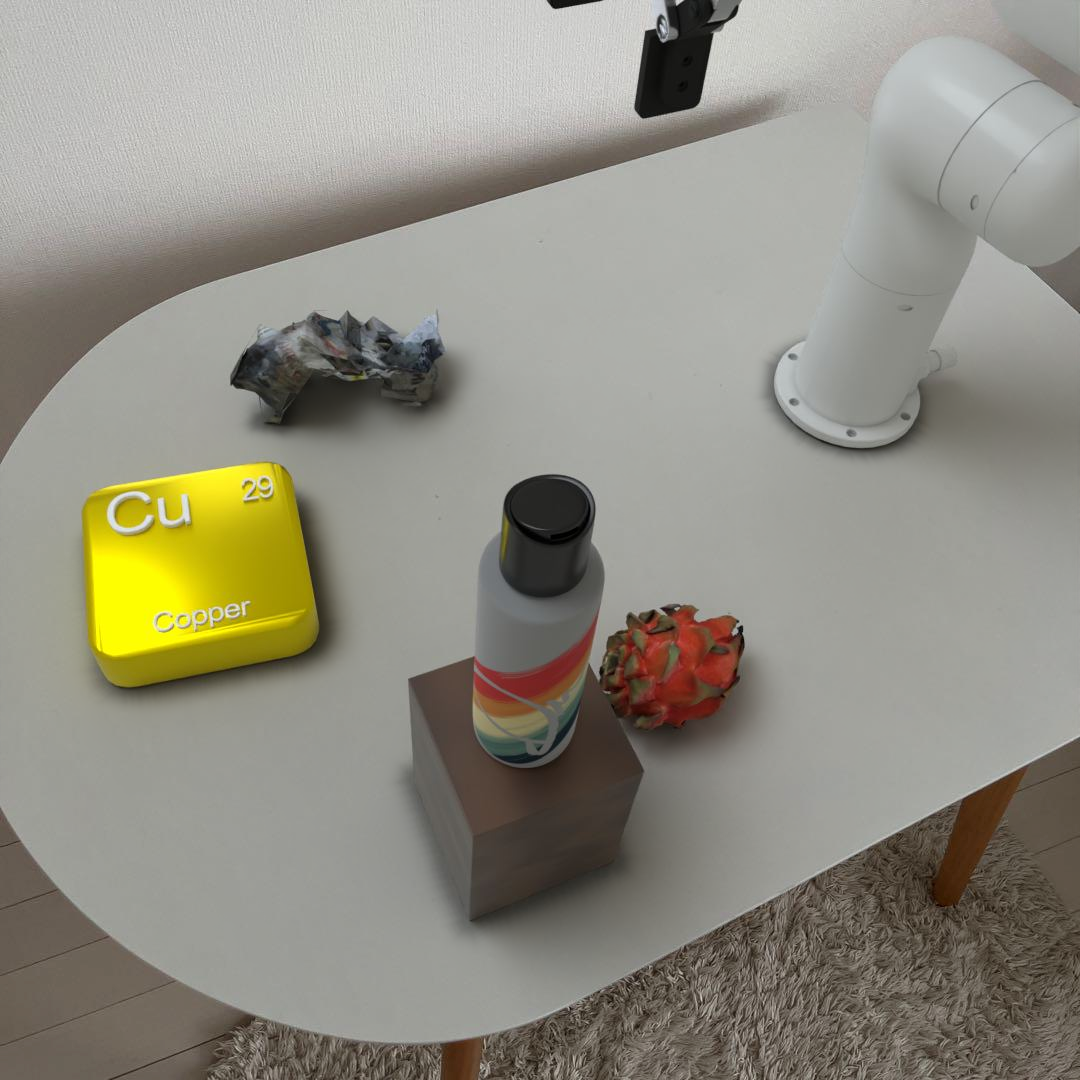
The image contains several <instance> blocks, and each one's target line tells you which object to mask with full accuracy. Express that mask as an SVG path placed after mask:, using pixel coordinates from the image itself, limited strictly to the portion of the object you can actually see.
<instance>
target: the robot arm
mask: <svg viewBox="0 0 1080 1080" xmlns="http://www.w3.org/2000/svg"><path fill="white" fill-rule="evenodd" d="M602 1H604V0H546V3H548V5H549V6H550V7H551V9H554V10H560V9H565V8H569V7H571V8H572V7H577V6H583V5H588V4H593V3H599V2H602ZM742 1H743V0H682V1H681V2H679V3H678V4H677V1H676V0H650V5H651V11H652V16H653V17H652V18H653V23H654V27H655V28H652V29H646V30H644V35H643V42H642V49H641V56H640V64H639V70H638V78H637V84H636V91H635V98H634V105H633V109H634V111H635V113H636V114H637V115H638V116H639V117H640V119H643V120H645V119H650V118H655V117H660V116H664V115H670V114H673V113H678V112H683V111H688V110H692V109H695V108H696V107H698V105H699V104H700V102H701V100H702V96H703V91H704V86H705V80H706V75H707V71H708V70H707V69H708V65H709V60H710V54H711V49H712V44H713V40H714V35H715V33H720V32H722V31H723V30H724V27H725V24H726V23H728V22H730V21H731V20H733V19H734V18H735V17H736V16H737V14H738V12H739V7H740V4H741V3H742ZM989 2H990V4H991V7H992V9H993V11H994V13H995V14H996V15H997V17H998V18H999V19H1000V20H1001V21H1002V22H1003V23H1004V24H1005V25H1006V26H1007V27H1008V28H1009V29H1010V30H1012V31H1013V32H1014V33H1015V34H1017V35H1019V37H1021V38H1022V39H1023V40H1025V41H1026V42H1028V43H1029V44H1031V45H1032V46H1034V47H1035V48H1037V50H1039V51H1041V52H1042V53H1044V54H1045V55H1047V56H1049V58H1052V59H1053V60H1054V61H1056V62H1057V63H1059V64H1061V65H1062V66H1064V67H1066V68H1067V69H1068V70H1070V71H1072V72H1073V73H1075V74H1076V75H1078V77H1079V76H1080V0H989ZM864 149H865V151H864V159H863V166H862V170H861V176H860V182H859V184H858V188H857V192H856V196H855V199H854V202H853V205H852V209H851V211H850V214H849V218H848V219H847V223H846V226H845V229H844V231H843V234H842V238H841V240H840V243H839V246H838V249H837V252H836V254H835V257H834V260H833V262H832V266H831V269H830V272H829V274H828V277H827V280H826V283H825V286H824V289H823V291H822V294H821V297H820V300H819V301H818V302H819V303H818V304H817V308H816V311H815V314H814V317H813V319H812V322H811V325H810V328H809V331H808V334H807V336H806V339H805V340H803V341H801V342H800V341H799V342H798V343H796V344H795V345H793V346H792V347H790V348H789V349H788V350H787V351H786V352H785V353H784V354H783V355H782V357H781V358H780V360H779V362H778V363H777V367H776V369H775V372H774V377H773V388H774V389H773V391H774V396H775V398H776V399H777V402H778V405H779V406H780V407H781V409H782V412H784V414H785V415H786V416H787V417H788V418H789V419H790V420H791V421H792V423H793V424H795V425H796V426H797V427H799V428H800V429H802V430H803V431H804V432H806V433H808V434H809V435H811V436H813V437H814V438H817V439H819V440H821V441H824V442H826V443H830V444H832V445H836V446H841V447H844V448H852V449H853V448H854V449H865V448H866V449H868V448H869V449H870V448H877V447H881V446H885V445H888V444H890V443H893V442H896V441H897V440H898V439H900V438H902V437H903V436H904V435H906V434H907V432H908V431H909V430H910V429H911V427H912V426H913V424H914V423H915V421H916V419H917V417H918V414H919V411H920V408H921V393H920V390H919V387H918V385H919V382H920V380H924V379H926V378H928V376H929V375H930V373H932V372H939V371H943V370H946V369H950V368H953V367H954V366H957V363H958V360H959V359H958V357H959V356H958V353H957V350H956V349H955V347H954V346H952V345H949V344H948V345H944V346H941V347H937V348H934V349H930V347H931V345H932V343H933V340H934V338H935V336H936V334H937V333H938V330H939V328H940V326H941V324H942V322H943V320H944V318H945V315H946V314H947V312H948V309H949V307H950V306H951V303H952V300H953V299H954V297H955V295H956V293H957V292H958V291H957V290H958V288H959V287H960V284H961V283H962V280H963V279H964V276H965V274H966V272H967V270H968V268H969V266H970V263H971V260H972V259H973V256H974V254H975V250H976V246H977V241H978V237H979V238H981V239H982V241H984V242H985V243H987V244H989V245H990V246H991V247H993V248H994V249H995V250H996V251H997V252H999V253H1001V254H1002V255H1003V256H1005V257H1006V258H1008V259H1009V260H1011V261H1013V262H1014V263H1018V264H1019V265H1022V266H1026V267H1030V268H1031V267H1032V268H1040V267H1045V266H1050V265H1052V264H1055V263H1058V262H1060V261H1061V260H1062V259H1065V258H1066V257H1068V256H1069V255H1071V254H1072V253H1073V252H1075V251H1076V250H1078V248H1079V247H1080V105H1078V104H1077V103H1075V102H1073V101H1072V100H1070V99H1068V97H1066V96H1064V95H1063V94H1061V93H1059V92H1058V91H1056V90H1055V89H1053V88H1052V87H1050V86H1049V84H1048V83H1047V82H1045V81H1043V80H1042V79H1041V78H1039V77H1038V76H1036V75H1034V74H1033V73H1032V72H1030V71H1028V70H1027V69H1026V68H1024V67H1022V66H1021V65H1019V63H1017V62H1015V61H1014V60H1012V59H1011V58H1010V57H1008V56H1006V55H1005V54H1004V53H1001V52H999V51H997V50H996V49H994V48H992V47H990V46H989V45H987V44H985V43H983V42H980V41H978V40H975V39H972V38H970V37H965V36H959V35H939V36H934V37H931V38H928V39H925V40H922V41H921V42H918V43H917V44H915V45H914V46H912V47H910V48H909V49H908V50H906V51H905V52H904V53H903V54H902V55H901V56H900V57H899V58H898V59H897V60H896V61H895V62H894V64H893V65H892V66H891V68H890V69H889V70H888V72H886V74H885V76H884V78H883V80H882V81H881V84H880V86H879V88H878V90H877V92H876V95H875V98H874V101H873V104H872V108H871V111H870V116H869V121H868V126H867V132H866V139H865V148H864Z"/></svg>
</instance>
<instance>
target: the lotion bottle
mask: <svg viewBox="0 0 1080 1080" xmlns="http://www.w3.org/2000/svg"><path fill="white" fill-rule="evenodd" d="M596 508H597V507H596V500H595V498H594V495H593V493H592V492H591V490H590V489H589V487H588V486H587V485H586V484H585V483H583V482H582V481H580V480H579V479H577V478H575V477H572V476H569V475H565V474H559V473H547V474H540V475H535V476H531V477H528V478H525V479H523V480H521V481H519V482H517V483H516V484H514V485H513V486H512V487H511V488H510V489H508V491H507V493H506V494H505V496H504V499H503V504H502V515H501V527H500V528H501V529H500V531H499V532H498V533H496V534H495V535H494V536H493V537H492V538H491V539H490V540H489V541H488V543H487V544H486V546H485V547H484V549H483V551H482V554H481V556H480V560H479V562H478V568H477V582H476V584H477V585H476V607H475V631H474V632H475V633H474V634H475V635H474V656H475V657H474V684H473V725H474V730H475V734H476V736H477V739H478V741H479V742H480V744H481V746H482V747H483V748H484V750H485V751H486V752H487V753H488V754H489V755H490V756H492V757H493V758H494V759H496V760H497V761H499V762H501V763H503V764H506V765H509V766H512V767H518V768H532V767H537V766H541V765H544V764H546V763H549V762H550V761H552V760H554V759H555V758H556V757H558V756H559V755H560V754H561V753H562V752H563V751H564V750H565V748H566V747H567V746H568V744H569V742H570V740H571V738H572V736H573V733H574V730H575V726H576V722H577V717H578V713H579V708H580V703H581V698H582V693H583V688H584V683H585V679H586V674H587V669H588V664H590V659H591V653H592V648H593V644H594V639H595V634H596V629H597V624H598V620H599V615H600V609H601V604H602V600H603V594H604V588H605V581H606V574H605V572H606V571H605V565H604V562H603V561H604V560H603V559H602V556H601V554H600V552H599V550H598V549H597V547H596V546H595V544H594V543H593V542H592V540H593V532H594V528H595V527H594V526H595V519H596V511H597V510H596Z"/></svg>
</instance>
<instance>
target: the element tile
mask: <svg viewBox="0 0 1080 1080" xmlns="http://www.w3.org/2000/svg"><path fill="white" fill-rule="evenodd" d="M81 525H82V526H81V530H82V532H81V533H82V551H83V570H84V571H83V574H84V591H85V593H84V594H85V612H86V628H87V629H86V630H87V631H86V632H87V634H86V635H87V642H88V645H89V648H90V650H91V652H92V654H93V656H94V658H95V660H96V662H97V664H98V666H99V668H100V670H101V671H102V673H103V675H104V677H105V678H106V679H107V681H108V682H110V683H111V684H113V685H114V686H116V687H121V688H139V687H143V686H148V685H153V684H158V683H159V684H160V683H165V682H168V681H173V680H179V679H183V678H189V677H194V676H198V675H204V674H209V673H215V672H219V671H224V670H229V669H235V668H239V667H245V666H250V665H255V664H259V663H265V662H270V661H274V660H279V659H284V658H285V659H286V658H290V657H294V656H297V655H300V654H302V653H304V652H305V651H307V650H310V648H311V647H312V646H313V645H314V643H315V642H316V641H317V639H318V635H319V632H320V621H319V617H318V615H319V614H318V609H317V605H316V599H315V593H314V588H313V582H312V577H311V572H310V567H309V561H308V556H307V551H306V546H305V545H306V544H305V540H304V536H303V529H302V524H301V519H300V514H299V509H298V503H297V498H296V492H295V488H294V483H293V477H292V476H291V474H290V472H289V471H288V470H287V469H286V467H285V466H284V465H281V464H279V463H277V462H273V461H256V462H251V463H244V464H238V465H237V464H236V465H231V466H225V467H218V468H212V469H207V470H200V471H193V472H187V473H181V474H176V475H170V476H169V475H168V476H163V477H157V478H151V479H144V480H138V481H131V482H125V483H119V484H114V485H109V486H106V487H102V488H100V489H97V490H96V491H94V492H93V493H91V494H90V495H89V496H88V497H87V498H86V499H85V501H84V502H83V505H82V508H81Z"/></svg>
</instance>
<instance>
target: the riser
mask: <svg viewBox="0 0 1080 1080" xmlns="http://www.w3.org/2000/svg"><path fill="white" fill-rule="evenodd" d="M474 657H475V655H474V656H470V657H468V658H465V659H461V660H459V661H456V662H453V663H449V664H447V665H444V666H440V667H438V668H436V669H432V670H429V671H427V672H423V673H421V674H418V675H415V676H412V677H409V678H408V679H407V684H408V685H407V686H408V701H409V715H410V718H409V719H410V734H411V735H410V736H411V750H412V751H411V752H412V767H413V782H414V785H415V786H416V790H417V792H418V795H419V797H420V801H421V802H422V804H423V808H424V810H425V812H426V816H427V817H428V820H429V823H430V825H431V827H432V830H433V834H434V835H435V838H436V841H437V843H438V846H439V848H440V851H441V853H442V856H443V859H444V862H445V864H446V866H447V869H448V871H449V874H450V876H451V879H452V882H453V885H454V887H455V889H456V892H457V895H458V897H459V899H460V902H461V905H462V908H463V909H464V910H463V911H464V912H465V915H466V918H467V920H468V921H469V922H471V921H473V920H475V919H477V918H480V917H483V916H485V915H488V914H490V913H492V912H495V911H497V910H500V909H502V908H504V907H507V906H510V905H512V904H514V903H517V902H519V901H521V900H524V899H526V898H530V897H531V896H533V895H536V894H538V893H541V892H544V891H546V890H548V889H551V888H554V887H555V886H558V885H560V884H563V883H565V882H567V881H570V880H572V879H575V878H577V877H580V876H582V875H584V874H587V873H589V872H592V871H595V870H596V869H599V868H602V867H605V866H607V865H609V864H611V863H614V861H615V859H616V855H617V853H618V849H619V847H620V844H621V841H622V838H623V835H624V832H625V829H626V826H627V823H628V820H629V818H630V815H631V813H632V808H633V805H634V802H635V800H636V797H637V794H638V791H639V788H640V784H641V783H642V779H643V777H644V773H645V769H644V767H643V765H642V763H641V761H640V759H639V756H638V755H637V753H636V751H635V749H634V747H633V745H632V743H631V741H630V739H629V738H628V736H627V733H626V731H625V730H624V728H623V726H622V723H621V722H620V720H619V718H617V716H616V714H615V712H614V710H613V709H612V707H611V705H610V703H609V701H608V699H607V697H606V695H605V693H606V692H605V691H604V690H603V689H602V687H601V685H600V683H599V679H598V678H597V676H596V674H595V672H594V670H593V668H592V666H591V664H590V663H589V664H588V669H587V674H586V679H585V683H584V688H583V693H582V698H581V703H580V708H579V713H578V717H577V722H576V726H575V730H574V733H573V736H572V738H571V740H570V742H569V744H568V746H567V747H566V748H565V750H564V751H563V752H562V753H561V754H560V755H559V756H558V757H556V758H555V759H554V760H552V761H550V762H549V763H546V764H544V765H541V766H537V767H532V768H518V767H512V766H509V765H506V764H503V763H501V762H499V761H497V760H496V759H494V758H493V757H492V756H490V755H489V754H488V753H487V752H486V751H485V750H484V748H483V747H482V746H481V744H480V742H479V741H478V739H477V736H476V734H475V730H474V725H473V684H474ZM604 692H605V693H604Z"/></svg>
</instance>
